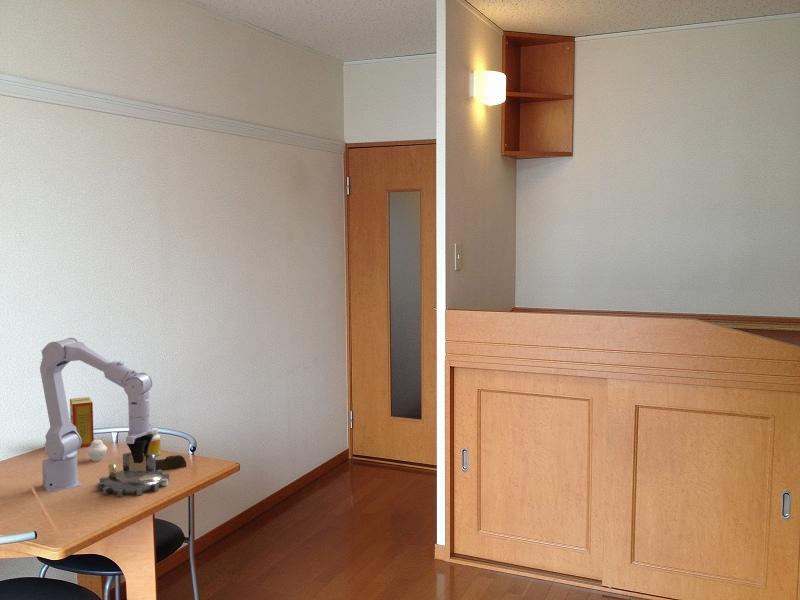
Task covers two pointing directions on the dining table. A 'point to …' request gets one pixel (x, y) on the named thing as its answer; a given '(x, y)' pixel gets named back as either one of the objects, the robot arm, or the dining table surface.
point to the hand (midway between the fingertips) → (140, 461)
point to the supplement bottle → (155, 444)
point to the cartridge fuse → (146, 464)
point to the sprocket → (132, 482)
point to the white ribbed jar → (97, 450)
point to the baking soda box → (82, 419)
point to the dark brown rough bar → (170, 463)
